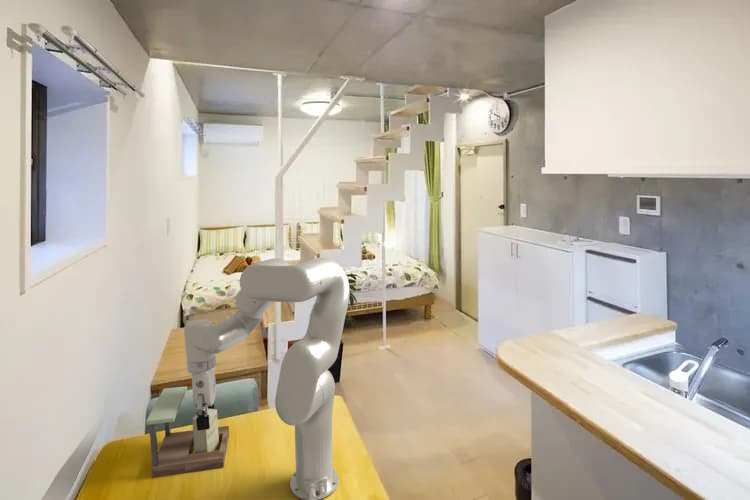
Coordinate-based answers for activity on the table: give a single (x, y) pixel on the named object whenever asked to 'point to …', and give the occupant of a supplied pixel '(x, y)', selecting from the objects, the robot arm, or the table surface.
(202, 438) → the skincare box
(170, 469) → the socket board
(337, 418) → the table surface
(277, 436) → the table surface
